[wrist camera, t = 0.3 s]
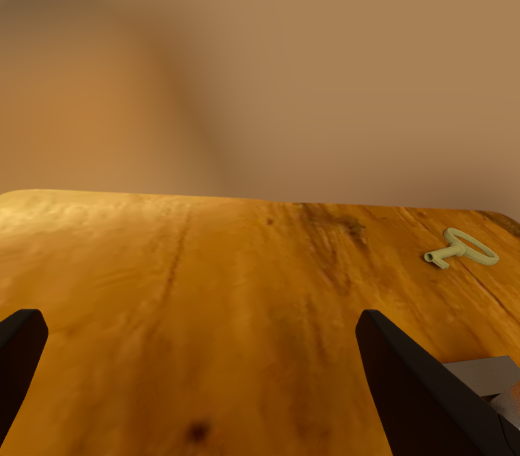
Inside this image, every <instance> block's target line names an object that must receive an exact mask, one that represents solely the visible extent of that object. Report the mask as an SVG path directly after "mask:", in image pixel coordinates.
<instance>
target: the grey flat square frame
mask: <svg viewBox="0 0 520 456" xmlns="http://www.w3.org/2000/svg"><path fill="white" fill-rule="evenodd" d="M442 365H443V366H445V367H446V368H447V369H448V370H449V371H451V372H452V373H453V374H454V375H455V376H456V377H458V378H459V379H460V380H461V381H462V382H464V383H465V384H466V385H467V386H468V387H469V388H471V389H472V390H473V391H474V392H475V393H477V394H478V395H479V396H480V397H481V398H482V399H484V400H485V401H486V402H487V403H488V402H490V401H491V400H493V399H494V398H495V397H497V396H498V395H500V394H501V393H502V392H504V391H505V390H507V389H508V388H509V387H511V386H512V385H514V384H515V383H516V382H518V381H519V380H520V368H519V367H518V366H517V365H516V364H515V363H514V361H513V360H512V359H511V358H510V357H509V356H508V355H507V356H500V357H492V358H484V359H476V360H469V361H461V362H453V363H446V364H442Z"/></svg>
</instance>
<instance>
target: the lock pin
mask: <svg viewBox="0 0 520 456" xmlns="http://www.w3.org/2000/svg"><path fill="white" fill-rule="evenodd" d="M488 404H489V405H491V406H492V407H493V408H494V409H495V410H496V411H497V413H500V414H501V415H503V416H504V417H505V418H506V419H507V420H508V421H510V422H511V423H512V424H513V425H514V426H516V427H517V428H518V429H519V430H520V380H519V381H518V382H516V383H515V384H514V385H512V386H511V387H509V388H508V389H507V390H505V391H504V392H502V393H501V394H500V395H498V396H497V397H495V398H494V399H493V400H491V401H490V402H488Z"/></svg>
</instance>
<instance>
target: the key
mask: <svg viewBox="0 0 520 456" xmlns="http://www.w3.org/2000/svg"><path fill="white" fill-rule="evenodd" d="M454 235H457V236H459V237H461V238H464V239H466V240H467V241H469V242H471V243H473V244H474V245H476V246H477V247H479V248H480V249H481V250H482V251H484V252H485V253H486V254H487V255H488V256H485V255H483V254H481V253H479V252H477V251H475V250H473V249H472V248H470V247H468V246H467V245H465V244H464V243H462V242H461V241H460V240H458V239H457V238H456V237H455V236H454ZM444 238H445V239H446V241H447V242H448V243H449V244H450V247H447V248H443V249H440V250H436V251H432V252H428V253H426V254H425V255H424V258H425V260H426V261H428V262H432V261H433V262H434V263H435V264H437V265H438V266H439V267H440V268H442V269H444V268H448V267H449V266H450V265H449V264H447V263H446V262H445V261H443V260H442V258H446V257H449V256H453V255H457V256H462V255H463V254H464V255H465V256H467V257H469V258H470V259H472V260H474V261H477V262H479V263H481V264H485V265H494V264H496V263H497V262H498V260H499V257H498V255H497V254H496V253H494V252H493V251H492V250H491V249H489V248H488V247H487V246H485V245H484V244H482V243H481V242H479V241H478V240H476V239H474V238H473V237H471V236H469V235H468V234H466V233H464V232H462V231H460V230H457V229H455V228H448V229H447V230H446V231H445V232H444Z"/></svg>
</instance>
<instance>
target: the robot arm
mask: <svg viewBox="0 0 520 456" xmlns="http://www.w3.org/2000/svg"><path fill="white" fill-rule="evenodd" d="M355 333H356V338H357V342H358V346H359V350H360V354H361V358H362V363H363V367H364V371H365V375H366V379H367V382H368V386H369V389H370V392H371V395H372V397H373V400H374V403H375V406H376V409H377V411H378V414H379V417H380V420H381V423H382V426H383V428H384V431H385V434H386V437H387V440H388V443H389V445H390V448H391V451H392V454H393V456H520V430H519V429H518V428H517V427H516V426H514V425H513V424H512V423H511V422H510V421H508V420H507V419H506V418H505V417H504V416H503V415H501V414H500V413H497V411H496V410H495V409H494V408H493V407H492V406H491V405H489V404H488V403H487V402H486V401H485V400H484V399H482V398H481V397H480V396H479V395H478V394H477V393H475V392H474V391H473V390H472V389H471V388H469V387H468V386H467V385H466V384H465V383H464V382H462V381H461V380H460V379H459V378H458V377H456V376H455V375H454V374H453V373H452V372H451V371H449V370H448V369H447V368H446V367H445V366H443V365H442V364H441V363H440V362H439V361H438V360H436V359H435V358H434V357H433V356H432V355H431V354H429V353H428V352H427V351H426V350H425V349H423V348H422V347H421V346H420V345H419V344H418V343H416V342H415V341H414V340H413V339H412V338H410V337H409V336H408V335H407V334H406V333H405V332H403V331H402V330H401V329H400V328H399V327H397V326H396V325H395V324H394V323H393V322H392V321H390V320H389V319H388V318H387V317H386V316H385V315H383V314H382V313H381V312H380V311H378V310H374V309H366V310H364V311H363V312H362V314H361V316H360V318H359V320H358V323H357V325H356V329H355ZM47 338H48V327H47V325H46V322H45V320H44V318H43V315H42V313H41V311H40V310H38V309H20V310H18V311H16V312H15V313H13V314H12V315H10V316H9V317H7V318H6V319H4V320H3V321H1V322H0V447H1V445H2V443H3V441H4V439H5V437H6V435H7V433H8V431H9V429H10V427H11V425H12V423H13V421H14V419H15V417H16V415H17V413H18V411H19V409H20V407H21V405H22V403H23V400H24V398H25V396H26V394H27V391H28V389H29V386H30V384H31V381H32V378H33V376H34V373H35V370H36V368H37V365H38V362H39V360H40V357H41V354H42V352H43V349H44V346H45V344H46V341H47Z"/></svg>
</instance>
